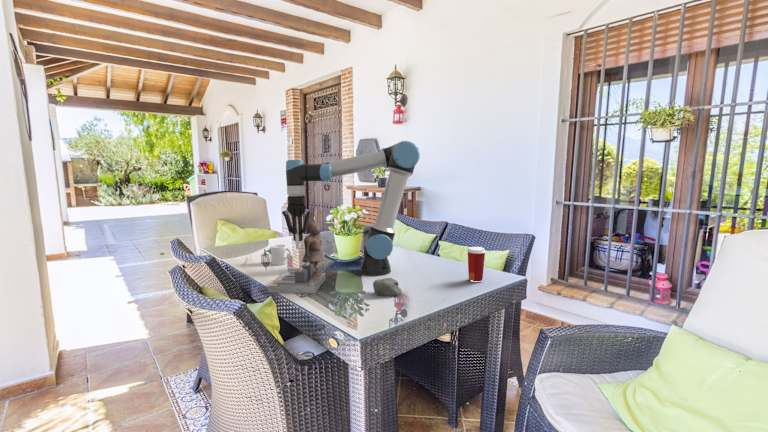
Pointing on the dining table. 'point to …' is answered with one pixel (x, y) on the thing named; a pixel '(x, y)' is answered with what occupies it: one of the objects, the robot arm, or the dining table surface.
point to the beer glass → (476, 263)
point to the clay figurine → (313, 245)
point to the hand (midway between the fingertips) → (298, 248)
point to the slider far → (308, 268)
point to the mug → (279, 254)
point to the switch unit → (296, 283)
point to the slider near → (301, 275)
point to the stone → (386, 287)
